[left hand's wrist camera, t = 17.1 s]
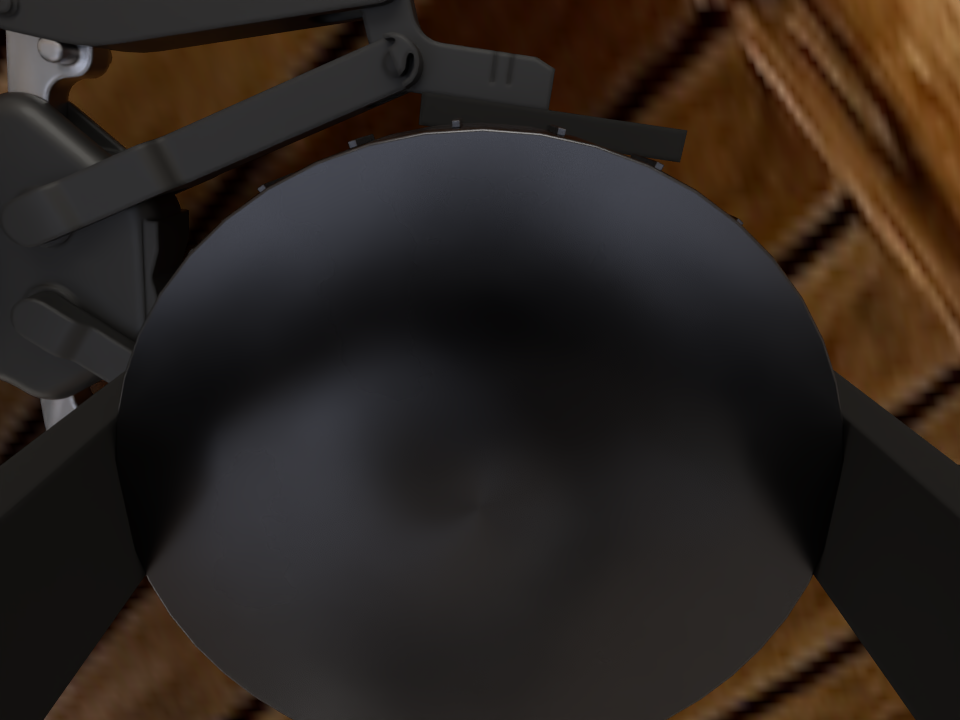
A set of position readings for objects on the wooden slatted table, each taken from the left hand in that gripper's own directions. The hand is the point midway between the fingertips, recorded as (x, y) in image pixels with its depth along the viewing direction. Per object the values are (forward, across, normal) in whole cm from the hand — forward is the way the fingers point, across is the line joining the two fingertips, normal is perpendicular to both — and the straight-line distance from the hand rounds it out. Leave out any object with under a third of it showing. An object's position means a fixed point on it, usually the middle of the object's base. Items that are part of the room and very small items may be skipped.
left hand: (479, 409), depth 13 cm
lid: (-3, 0, 0) cm, 3 cm away
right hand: (+7, -4, +1) cm, 8 cm away
